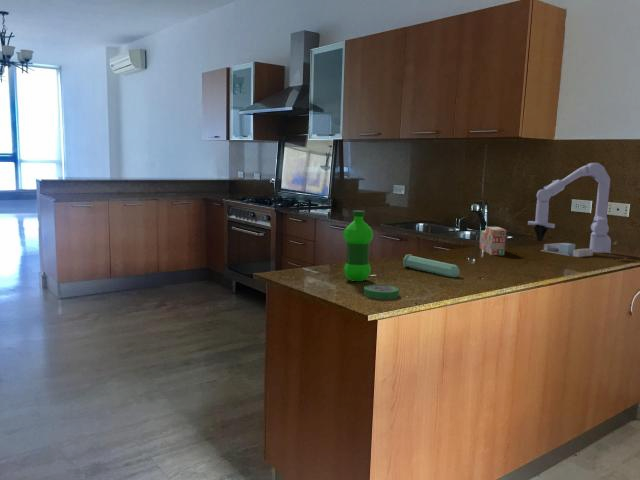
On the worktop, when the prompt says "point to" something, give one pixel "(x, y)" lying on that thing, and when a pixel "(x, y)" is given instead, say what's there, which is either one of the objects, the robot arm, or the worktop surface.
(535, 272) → the worktop surface
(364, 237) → the plastic bottle
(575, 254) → the vise
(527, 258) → the worktop surface
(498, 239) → the printed cardboard box
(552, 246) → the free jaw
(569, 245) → the steel block
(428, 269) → the container
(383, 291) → the tape roll
